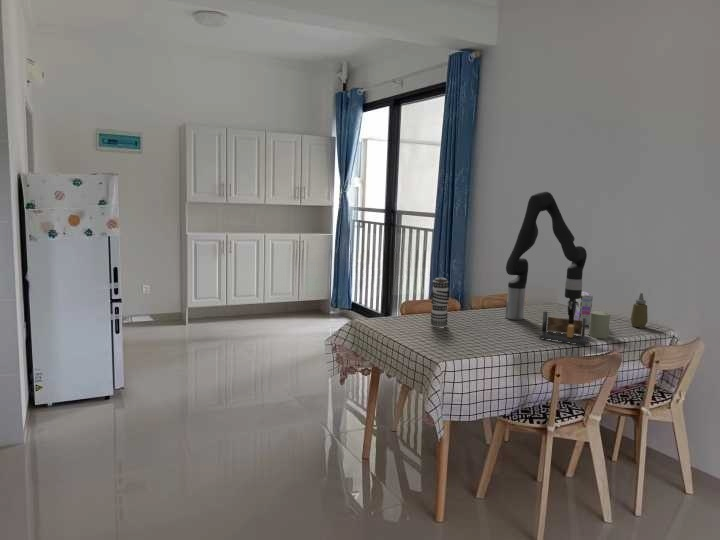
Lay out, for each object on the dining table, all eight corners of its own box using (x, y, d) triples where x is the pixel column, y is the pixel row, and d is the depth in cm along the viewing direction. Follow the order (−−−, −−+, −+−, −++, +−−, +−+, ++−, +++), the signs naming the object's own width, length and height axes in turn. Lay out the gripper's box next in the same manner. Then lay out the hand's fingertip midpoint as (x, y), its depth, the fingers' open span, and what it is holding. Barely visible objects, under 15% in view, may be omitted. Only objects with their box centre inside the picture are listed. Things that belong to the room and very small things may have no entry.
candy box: (590, 326, 294) (593, 295, 292) (578, 325, 295) (581, 295, 293) (585, 320, 308) (587, 291, 305) (574, 319, 309) (576, 290, 306)
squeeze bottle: (646, 326, 298) (649, 292, 295) (647, 329, 290) (650, 295, 288) (629, 324, 301) (632, 291, 298) (629, 327, 294) (633, 293, 291)
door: (546, 330, 280) (547, 317, 279) (547, 329, 283) (548, 316, 282) (580, 335, 273) (581, 321, 272) (581, 334, 275) (582, 320, 274)
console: (540, 339, 267) (540, 335, 267) (543, 335, 275) (543, 331, 275) (584, 345, 258) (585, 341, 258) (586, 341, 266) (587, 336, 266)
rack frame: (541, 331, 282) (543, 311, 281) (542, 330, 284) (543, 311, 283) (583, 336, 273) (585, 316, 272) (584, 335, 275) (585, 315, 274)
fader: (566, 337, 263) (567, 326, 262) (568, 334, 267) (569, 324, 267) (572, 337, 262) (573, 327, 261) (573, 335, 266) (574, 324, 266)
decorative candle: (451, 326, 288) (453, 278, 285) (441, 329, 282) (443, 280, 278) (436, 323, 295) (438, 276, 291) (426, 326, 288) (428, 278, 284)
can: (607, 339, 270) (609, 315, 268) (586, 336, 274) (588, 312, 273) (610, 335, 277) (612, 311, 276) (590, 332, 282) (592, 309, 280)
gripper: (580, 290, 261) (577, 327, 264) (583, 286, 273) (580, 321, 275) (563, 289, 265) (560, 325, 267) (567, 285, 276) (564, 319, 279)
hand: (571, 323), depth 271 cm, fingers closed
